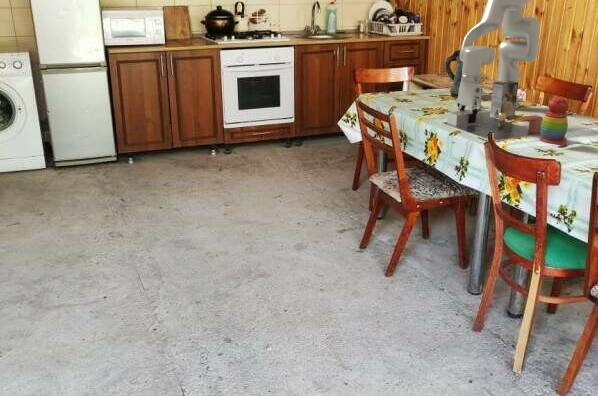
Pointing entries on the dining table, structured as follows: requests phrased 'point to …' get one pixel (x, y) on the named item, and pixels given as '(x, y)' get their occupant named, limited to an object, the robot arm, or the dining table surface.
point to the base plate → (496, 130)
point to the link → (467, 117)
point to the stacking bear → (555, 122)
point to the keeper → (532, 122)
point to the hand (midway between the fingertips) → (466, 120)
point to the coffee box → (504, 98)
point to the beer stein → (458, 74)
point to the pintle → (502, 119)
